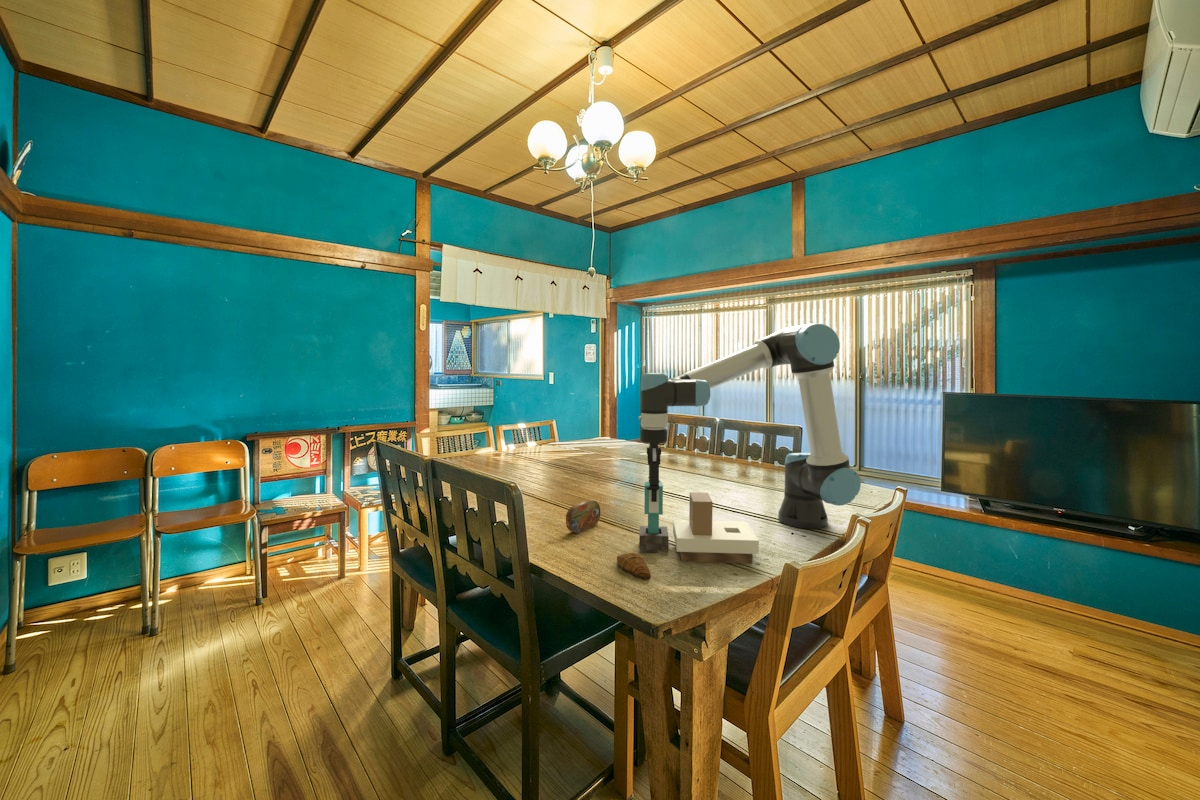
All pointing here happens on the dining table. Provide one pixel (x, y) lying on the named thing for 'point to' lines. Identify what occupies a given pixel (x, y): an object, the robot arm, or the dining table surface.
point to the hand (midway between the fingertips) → (653, 509)
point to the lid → (712, 531)
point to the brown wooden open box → (716, 557)
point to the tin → (582, 516)
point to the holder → (653, 540)
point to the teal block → (653, 517)
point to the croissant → (634, 565)
